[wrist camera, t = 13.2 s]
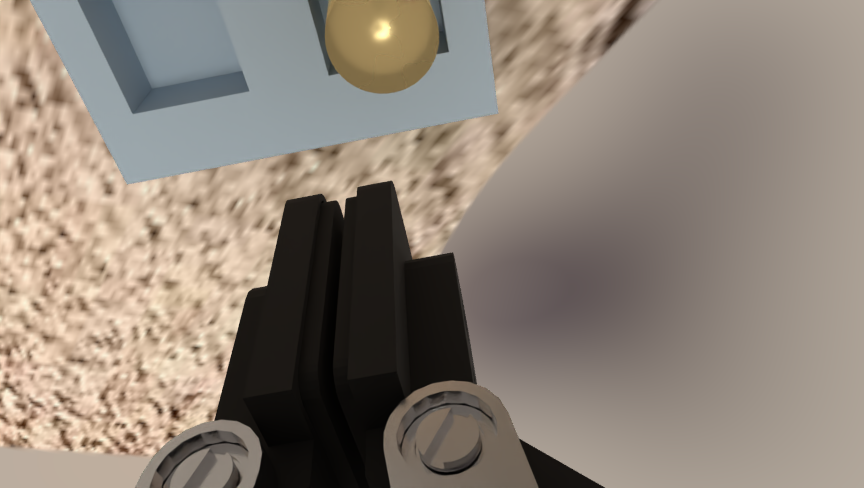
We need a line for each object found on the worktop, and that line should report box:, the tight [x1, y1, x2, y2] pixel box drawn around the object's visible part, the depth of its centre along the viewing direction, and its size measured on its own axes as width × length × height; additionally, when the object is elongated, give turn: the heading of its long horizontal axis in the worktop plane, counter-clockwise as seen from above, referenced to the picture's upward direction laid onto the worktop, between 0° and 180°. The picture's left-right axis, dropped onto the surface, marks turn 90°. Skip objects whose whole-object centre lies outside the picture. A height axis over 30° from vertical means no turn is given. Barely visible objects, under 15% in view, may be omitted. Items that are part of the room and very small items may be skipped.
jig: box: [30, 0, 498, 184], centre depth 28 cm, size 12×18×4 cm, turn 100°
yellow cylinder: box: [325, 0, 439, 94], centre depth 26 cm, size 4×4×8 cm
